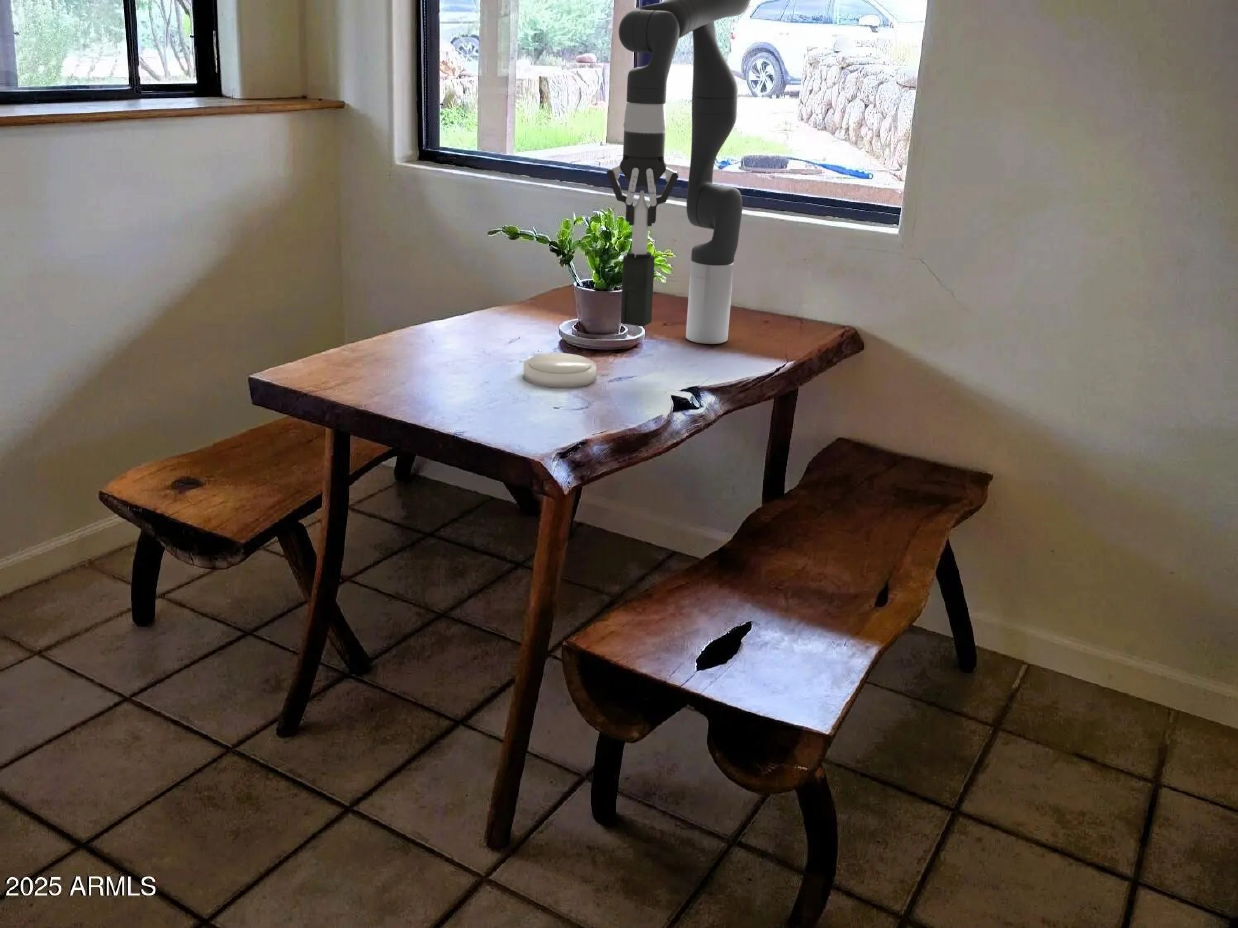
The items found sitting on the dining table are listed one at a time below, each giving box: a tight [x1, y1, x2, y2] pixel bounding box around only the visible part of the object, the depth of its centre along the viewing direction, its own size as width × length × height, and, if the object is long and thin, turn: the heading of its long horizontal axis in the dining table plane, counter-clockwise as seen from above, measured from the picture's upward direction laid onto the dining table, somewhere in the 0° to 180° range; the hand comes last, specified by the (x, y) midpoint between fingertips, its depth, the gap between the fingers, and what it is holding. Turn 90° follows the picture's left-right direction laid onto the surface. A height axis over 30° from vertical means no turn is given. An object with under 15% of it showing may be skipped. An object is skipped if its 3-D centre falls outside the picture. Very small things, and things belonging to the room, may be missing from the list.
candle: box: [620, 189, 656, 327], centre depth 212 cm, size 5×5×25 cm
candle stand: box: [523, 352, 597, 389], centre depth 217 cm, size 14×14×3 cm
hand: (640, 224), depth 210 cm, fingers closed on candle, 3 cm apart
